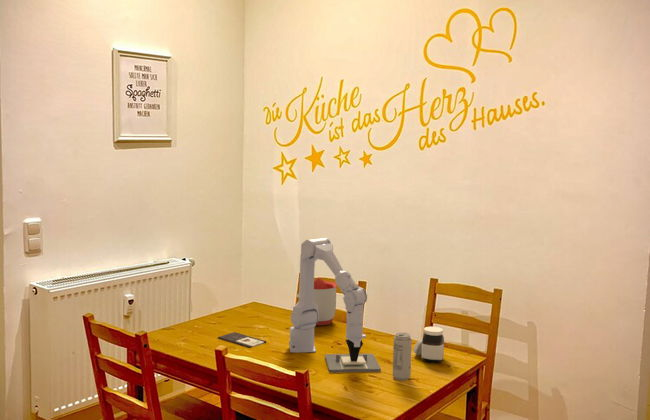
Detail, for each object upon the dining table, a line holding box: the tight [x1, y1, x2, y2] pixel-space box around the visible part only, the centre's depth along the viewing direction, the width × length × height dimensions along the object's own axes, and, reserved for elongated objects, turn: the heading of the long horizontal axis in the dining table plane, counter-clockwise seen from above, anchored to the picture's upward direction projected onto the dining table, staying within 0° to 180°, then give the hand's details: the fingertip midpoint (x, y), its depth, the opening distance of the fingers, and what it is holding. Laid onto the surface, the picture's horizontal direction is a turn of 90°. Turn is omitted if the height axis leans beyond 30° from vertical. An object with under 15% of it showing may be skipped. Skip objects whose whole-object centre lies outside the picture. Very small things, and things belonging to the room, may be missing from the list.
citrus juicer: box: [296, 277, 338, 326], centre depth 286 cm, size 16×17×20 cm
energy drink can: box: [392, 332, 413, 382], centre depth 222 cm, size 6×6×15 cm
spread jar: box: [413, 326, 445, 364], centre depth 243 cm, size 12×11×12 cm
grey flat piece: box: [324, 353, 382, 374], centre depth 236 cm, size 18×16×3 cm
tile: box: [341, 356, 366, 365], centre depth 233 cm, size 8×7×1 cm
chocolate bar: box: [217, 331, 267, 349], centre depth 261 cm, size 9×1×18 cm
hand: (353, 360), depth 231 cm, fingers closed
